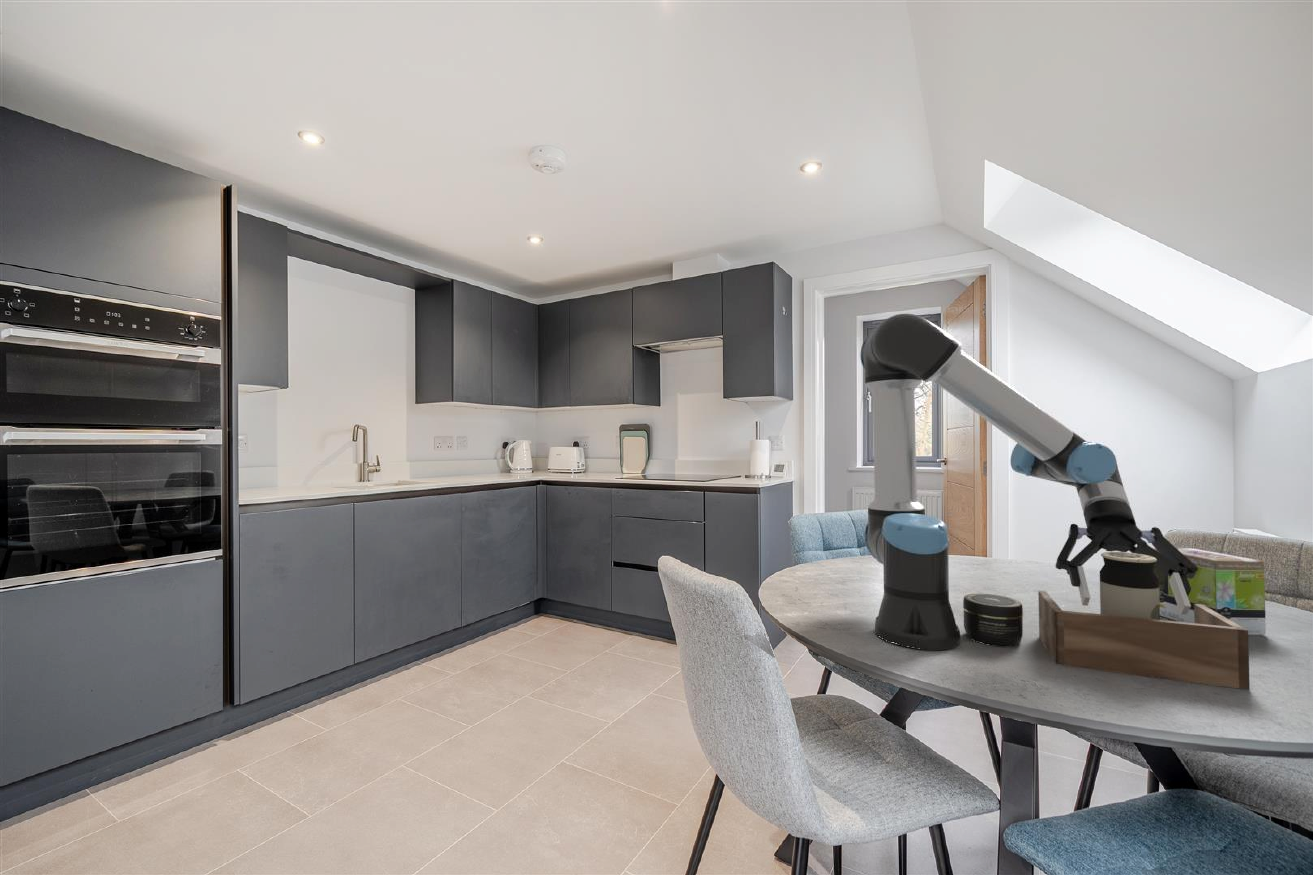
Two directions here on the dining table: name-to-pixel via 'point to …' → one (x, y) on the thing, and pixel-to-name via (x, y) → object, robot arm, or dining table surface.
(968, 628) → the jar
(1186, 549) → the tea box
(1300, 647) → the dining table surface
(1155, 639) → the walnut crate
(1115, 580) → the travel mug
